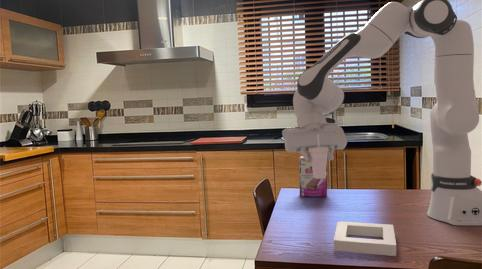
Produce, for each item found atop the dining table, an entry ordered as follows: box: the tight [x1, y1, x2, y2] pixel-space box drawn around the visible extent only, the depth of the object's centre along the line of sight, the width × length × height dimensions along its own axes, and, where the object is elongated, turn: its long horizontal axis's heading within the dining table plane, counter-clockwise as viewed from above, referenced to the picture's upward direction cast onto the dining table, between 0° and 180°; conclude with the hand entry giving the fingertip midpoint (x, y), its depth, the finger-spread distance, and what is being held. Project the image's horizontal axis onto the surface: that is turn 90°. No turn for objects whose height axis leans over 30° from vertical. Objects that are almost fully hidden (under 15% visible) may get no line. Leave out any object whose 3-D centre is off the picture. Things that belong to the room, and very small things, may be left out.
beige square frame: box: [332, 220, 397, 257], centre depth 113 cm, size 16×16×3 cm
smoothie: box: [308, 134, 329, 179], centre depth 126 cm, size 6×6×14 cm
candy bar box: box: [298, 155, 328, 198], centre depth 163 cm, size 11×5×16 cm, turn 84°
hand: (319, 159), depth 126 cm, fingers closed on smoothie, 6 cm apart
